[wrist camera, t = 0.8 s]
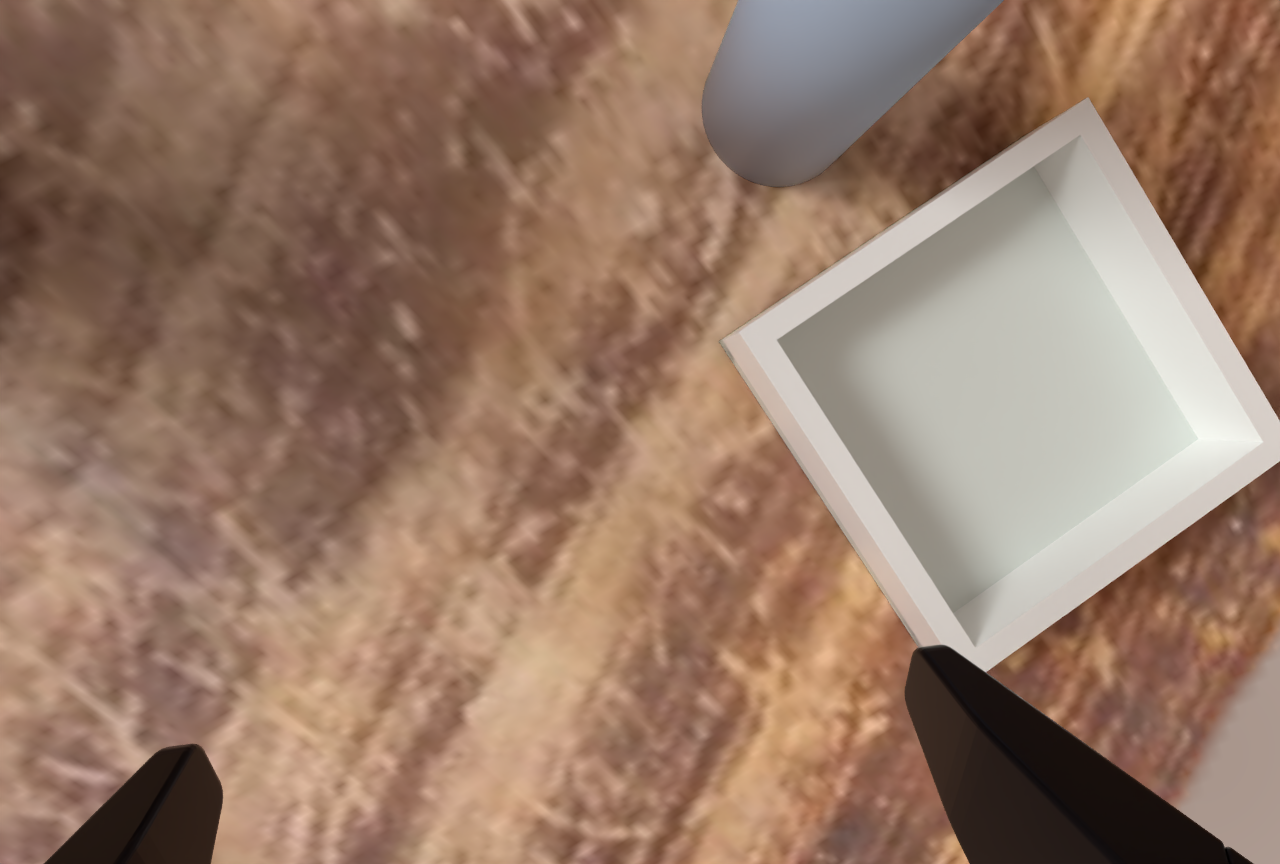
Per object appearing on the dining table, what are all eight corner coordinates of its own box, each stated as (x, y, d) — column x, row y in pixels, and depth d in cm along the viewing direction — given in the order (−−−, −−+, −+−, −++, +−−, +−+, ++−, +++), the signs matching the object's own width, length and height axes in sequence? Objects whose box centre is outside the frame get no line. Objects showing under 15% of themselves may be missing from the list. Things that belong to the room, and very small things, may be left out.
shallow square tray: (1213, 444, 26) (1296, 449, 23) (921, 652, 25) (967, 684, 22) (1027, 133, 25) (1088, 96, 22) (718, 341, 24) (738, 331, 21)
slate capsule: (880, 134, 25) (1218, -170, 12) (756, 216, 24) (961, -2, 11) (798, 2, 24) (1055, -464, 11) (672, 84, 24) (784, -296, 11)
